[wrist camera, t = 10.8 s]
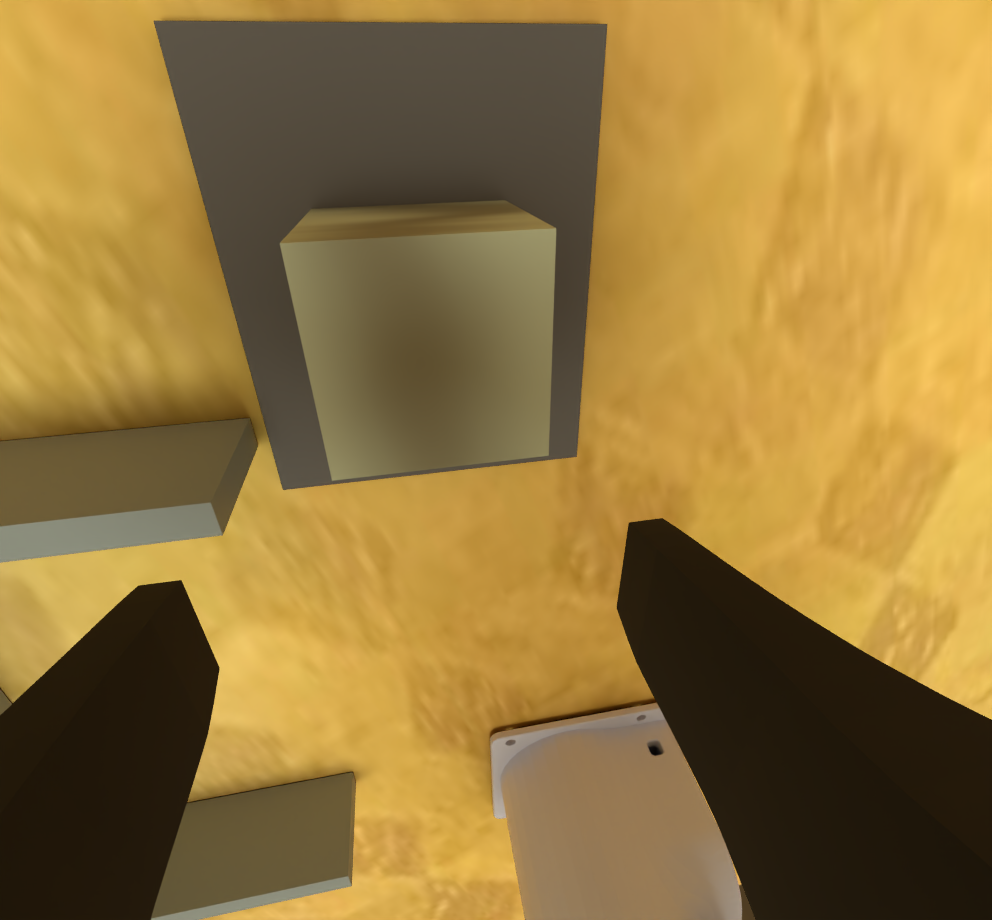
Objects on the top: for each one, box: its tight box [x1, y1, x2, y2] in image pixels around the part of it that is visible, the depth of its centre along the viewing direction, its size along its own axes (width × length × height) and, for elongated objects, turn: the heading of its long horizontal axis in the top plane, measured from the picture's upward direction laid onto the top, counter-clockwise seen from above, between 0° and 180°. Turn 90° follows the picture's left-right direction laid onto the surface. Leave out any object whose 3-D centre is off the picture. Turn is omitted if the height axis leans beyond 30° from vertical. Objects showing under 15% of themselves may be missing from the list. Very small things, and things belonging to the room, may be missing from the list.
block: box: [280, 200, 556, 481], centre depth 13 cm, size 5×5×5 cm
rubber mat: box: [154, 21, 607, 490], centre depth 15 cm, size 10×12×1 cm
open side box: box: [0, 418, 356, 920], centre depth 19 cm, size 12×21×4 cm, turn 0°
